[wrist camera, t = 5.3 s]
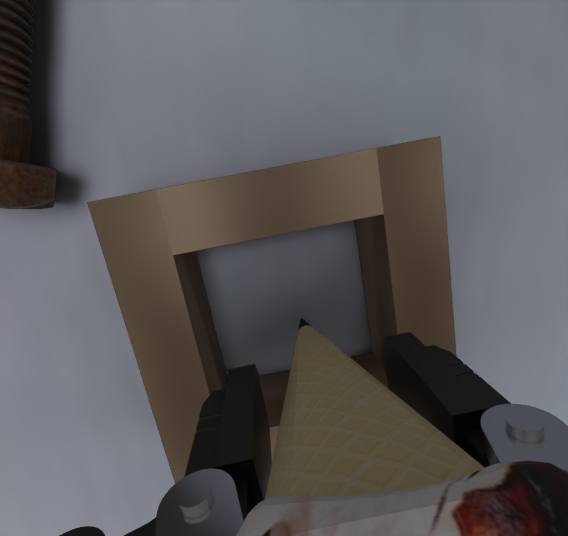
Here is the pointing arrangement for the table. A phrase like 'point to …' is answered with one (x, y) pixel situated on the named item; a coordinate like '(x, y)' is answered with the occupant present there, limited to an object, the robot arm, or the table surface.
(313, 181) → the wooden square frame
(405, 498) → the ice cream cone
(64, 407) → the table surface
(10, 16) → the bolt
